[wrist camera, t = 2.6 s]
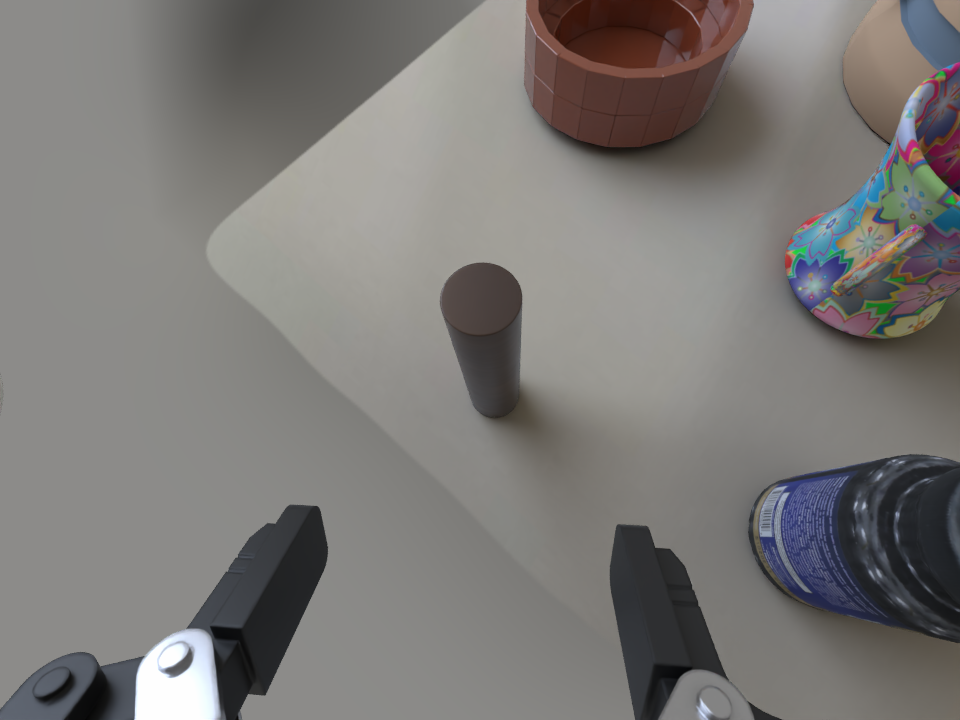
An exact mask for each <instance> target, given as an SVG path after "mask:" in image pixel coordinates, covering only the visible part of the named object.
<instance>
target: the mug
mask: <svg viewBox="0 0 960 720" xmlns="http://www.w3.org/2000/svg"><path fill="white" fill-rule="evenodd" d="M785 267H786V273H787V277H788V280H789V283H790V285H791V287H792V289H793V291H794V293H795V294H796V296H797V297H798V299H799V300H800V301H801V303H802V304H803V305H804V306H805V307H806V308H807V309H808V310H809V311H810V312H811V313H812V314H814V315H815V316H816V317H817V318H819V319H820V320H822V321H823V322H825V323H827V324H828V325H830V326H832V327H834V328H836V329H839V330H841V331H843V332H846V333H849V334H852V335H856V336H860V337H866V338H876V339H886V338H895V337H900V336H904V335H908V334H911V333H913V332H916V331H918V330H920V329H922V328H923V327H925V326H926V325H928V324H929V323H930V322H931V321H932V320H933V319H934V318H935V317H936V316H937V315H938V314H939V312H940V311H941V309H942V307H943V305H944V303H945V301H946V300H947V299H948V298H949V297H950V296H951V295H953V294H954V293H955V292H956V291H958V290H959V289H960V62H958V63H955V64H953V65H950V66H948V67H946V68H943V69H941V70H940V71H938V72H936V73H935V74H933V75H931V76H930V77H929V78H927V79H926V80H925V81H923V82H922V83H921V84H920V85H919V86H918V87H917V88H916V90H915V91H914V92H913V93H912V95H911V96H910V98H909V99H908V101H907V103H906V105H905V107H904V110H903V112H902V115H901V119H900V122H899V125H898V128H897V131H896V133H895V136H894V138H893V141H892V143H891V145H890V147H889V149H888V151H887V153H886V155H885V157H884V158H883V160H882V161H881V163H880V165H879V166H878V168H877V169H876V171H875V172H874V173H873V175H872V176H871V177H870V179H869V180H868V181H867V182H866V183H865V184H864V186H863V187H862V188H861V189H860V190H859V191H858V192H857V193H856V194H855V195H853V196H852V197H851V198H850V199H849V200H847V201H846V202H845V203H843V204H842V205H840V206H839V207H837V208H835V209H833V210H830V211H826V212H823V213H821V214H818V215H816V216H814V217H812V218H811V219H809V220H807V221H806V222H805V223H803V224H802V225H801V226H800V227H799V228H798V229H797V230H796V232H795V233H794V234H793V236H792V238H791V240H790V242H789V244H788V247H787V250H786V256H785Z"/></svg>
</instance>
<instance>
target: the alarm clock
mask: <svg viewBox="0 0 960 720" xmlns="http://www.w3.org/2000/svg"><path fill="white" fill-rule="evenodd" d="M958 62H960V0H877V2H876V3H875V4H874V5H873V6H872V7H871V9H870V10H869V12H868V13H867V15H866V16H865V18H864V19H863V20H862V22H861V23H860V25H859V26H858V28H857V29H856V31H855V32H854V34H853V35H852V37H851V39H850V41H849V44H848V46H847V49H846V51H845V54H844V57H843V82H844V85H845V87H846V90H847V92H848V95H849V97H850V100H851V102H852V105H853V106H854V108H855V109H856V110H857V111H858V113H859V114H860V115H861V116H862V118H863V119H864V120H865V122H866V123H867V124H868V125H869V127H870V128H871V129H872V130H873V131H875V132H876V133H877V134H878V135H880V136H881V137H882V138H884V139H885V140H886V141H887V142H889V143H890V144H891V143H892V141H893V138H894V136H895V133H896V131H897V128H898V125H899V122H900V119H901V115H902V112H903V110H904V107H905V105H906V103H907V101H908V99H909V98H910V96H911V95H912V93H913V92H914V91H915V90H916V88H917V87H918V86H919V85H920V84H921V83H922V82H923V81H925V80H926V79H927V78H929V77H930V76H931V75H933V74H935V73H936V72H938V71H940V70H941V69H943V68H946V67H948V66H950V65H953V64H955V63H958Z"/></svg>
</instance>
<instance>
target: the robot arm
mask: <svg viewBox="0 0 960 720" xmlns="http://www.w3.org/2000/svg"><path fill="white" fill-rule="evenodd" d="M327 555H328V546H327V541H326V536H325V531H324V526H323V521H322V516H321V511H320V509H319V507H318V506H306V505H289V506H288V507H287V508H286V509H285V510H284V512H283V514H282V515H281V517H280V518H279V519H278V521H277V522H276V524H270V523H268V524H266V525H265V526H264V527H262V528H261V529H260V530H259V531H257V532H256V533H255V534H254V535H253V536H251V537H250V538H249V540H248V541H247V543H246V544H245V546H244V547H243V548H242V550H241V551H240V553H239V554H238V558H235V560H234V562H233V563H232V564H231V566H230V567H229V570H228V572H226V573H225V574H224V576H223V577H222V579H221V580H220V582H219V583H218V585H217V586H216V587H215V589H214V590H213V592H212V593H211V595H210V596H209V597H208V599H207V600H206V602H205V603H204V605H203V606H202V607H201V609H200V611H199V612H198V613H197V615H196V616H195V618H194V619H193V621H192V622H191V623H190V625H189V626H188V627H187V628H186V629H185V630H181V631H178V632H175V633H173V634H171V635H169V636H168V637H166V638H165V639H163V640H162V641H160V642H159V643H158V644H156V645H155V646H154V647H153V648H152V649H151V650H150V651H149V652H148V653H147V654H146V656H143V657H139V658H135V659H131V660H126V661H122V662H118V663H113V664H109V665H105V666H101V667H100V665H99V664H98V662H97V660H96V658H95V657H94V656H93V655H91V654H89V653H85V652H77V653H72V654H68V655H65V656H62V657H60V658H57V659H55V660H53V661H51V662H50V663H48V664H46V665H45V666H43V667H42V668H40V669H39V670H38V671H36V672H35V673H34V674H32V675H31V676H30V677H29V678H28V679H27V680H26V681H25V682H24V683H23V684H22V685H21V686H20V687H19V689H18V690H17V691H16V692H15V693H14V694H13V696H12V697H11V698H10V699H9V700H8V701H7V702H6V704H5V705H4V706H3V707H2V708H1V709H0V720H242V717H241V713H240V709H241V707H242V705H243V703H244V701H245V699H246V697H247V695H248V694H254V695H266V693H267V691H268V689H269V686H270V684H271V682H272V680H273V678H274V676H275V674H276V672H277V669H278V667H279V665H280V663H281V661H282V659H283V657H284V655H285V652H286V650H287V648H288V646H289V644H290V642H291V639H292V637H293V635H294V633H295V631H296V629H297V627H298V625H299V622H300V620H301V618H302V616H303V614H304V612H305V610H306V608H307V605H308V603H309V601H310V599H311V597H312V595H313V593H314V590H315V588H316V586H317V584H318V582H319V580H320V578H321V575H322V573H323V571H324V568H325V566H326V562H327ZM610 586H611V593H612V598H613V604H614V609H615V614H616V620H617V625H618V630H619V636H620V641H621V646H622V651H623V657H624V662H625V667H626V672H627V678H628V683H629V688H630V693H631V699H632V705H633V710H634V715H635V720H782V719H779V718H777V717H774V716H772V715H770V714H767V713H765V712H763V711H761V710H760V709H758V708H757V707H755V706H754V705H752V704H751V703H749V702H748V701H747V700H746V699H745V697H744V696H743V694H742V693H741V692H740V691H739V690H738V688H736V687H735V686H734V685H733V684H732V683H731V682H730V681H729V680H728V678H727V676H726V675H725V672H724V670H723V668H722V665H721V662H720V660H719V657H718V654H717V652H716V649H715V646H714V644H713V641H712V638H711V635H710V633H709V630H708V627H707V625H706V622H705V619H704V617H703V614H702V611H701V609H700V607H699V606H698V600H697V598H696V595H695V592H694V590H692V584H691V582H690V579H689V576H688V574H687V571H686V568H685V566H684V565H683V564H682V562H681V561H680V560H679V559H678V558H677V557H676V555H675V554H674V553H673V552H672V551H671V549H664V548H655V546H654V543H653V539H652V536H651V533H650V530H649V528H648V527H647V526H639V525H621V524H618V525H617V526H616V531H615V538H614V544H613V551H612V557H611V564H610Z"/></svg>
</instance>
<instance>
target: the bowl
mask: <svg viewBox="0 0 960 720" xmlns="http://www.w3.org/2000/svg"><path fill="white" fill-rule="evenodd" d="M753 7H754V3H753V0H526V32H525V77H524V86H525V89H526V91H527V94H528V96H529V98H530V101H531V103H532V106H533V107H534V109H535V110H536V111H537V112H538V113H539V114H540V115H541V116H542V117H543V118H544V119H545V120H546V121H547V122H548V123H549V124H550V125H551V126H552V127H554V128H556V129H557V130H559V131H561V132H563V133H565V134H567V135H569V136H570V137H572V138H574V139H576V140H577V139H578V140H579V141H583V142H588V143H592V144H596V145H600V146H604V147H640V146H641V147H642V146H646V145H650V144H653V143H657V142H661V141H665V140H669V139H672V138H674V137H675V136H677V135H679V134H680V133H682V132H684V131H685V130H687V129H689V128H690V127H692V126H694V125H695V124H696V123H697V122H698V121H699V120H700V118H701V117H702V116H703V115H704V114H705V112H706V111H707V110H708V109H709V108H710V106H711V105H712V104H713V102H714V100H715V98H716V96H717V93H718V91H719V89H720V87H721V85H722V83H723V81H724V78H725V76H726V74H727V72H728V70H729V68H730V65H731V63H732V61H733V59H734V57H735V55H736V53H737V50H738V48H739V46H740V44H741V42H742V40H743V38H744V35H745V33H746V31H747V29H748V25H749V22H750V18H751V14H752V11H753Z"/></svg>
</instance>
